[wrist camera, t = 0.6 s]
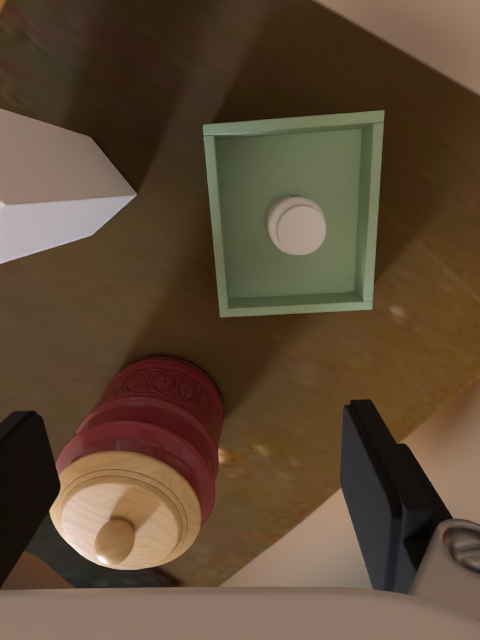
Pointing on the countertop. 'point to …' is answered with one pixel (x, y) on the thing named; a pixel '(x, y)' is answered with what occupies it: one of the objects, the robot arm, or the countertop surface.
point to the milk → (52, 186)
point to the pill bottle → (296, 225)
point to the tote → (295, 180)
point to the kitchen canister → (141, 466)
